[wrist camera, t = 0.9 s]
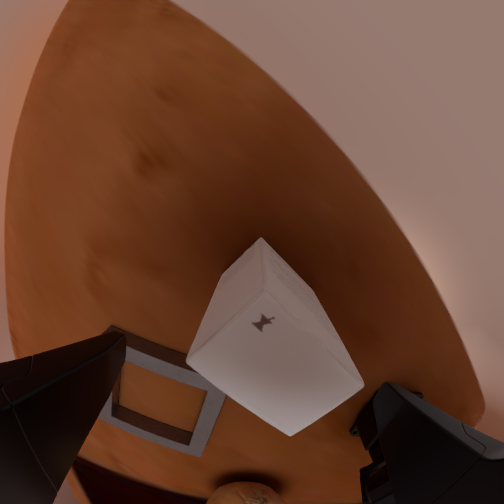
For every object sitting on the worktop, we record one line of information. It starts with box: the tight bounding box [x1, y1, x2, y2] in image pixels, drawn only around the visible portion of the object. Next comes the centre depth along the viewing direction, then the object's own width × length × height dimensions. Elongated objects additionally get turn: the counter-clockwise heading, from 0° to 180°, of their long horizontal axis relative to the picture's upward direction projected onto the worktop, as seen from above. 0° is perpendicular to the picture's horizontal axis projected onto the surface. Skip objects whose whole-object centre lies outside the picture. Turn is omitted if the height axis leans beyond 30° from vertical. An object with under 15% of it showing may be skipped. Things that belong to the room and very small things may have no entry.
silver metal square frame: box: [99, 325, 226, 457], centre depth 22 cm, size 11×11×2 cm
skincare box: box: [186, 237, 364, 436], centre depth 15 cm, size 6×4×12 cm
